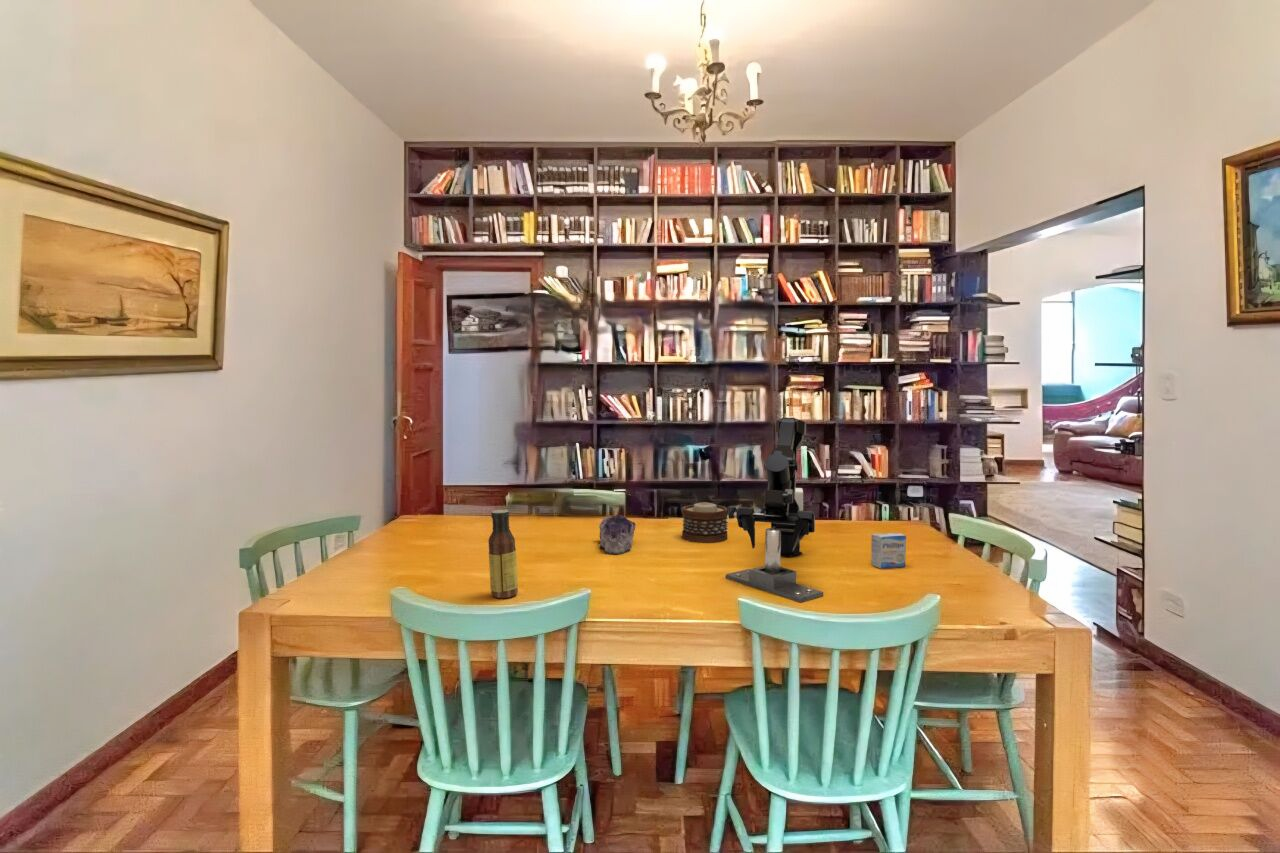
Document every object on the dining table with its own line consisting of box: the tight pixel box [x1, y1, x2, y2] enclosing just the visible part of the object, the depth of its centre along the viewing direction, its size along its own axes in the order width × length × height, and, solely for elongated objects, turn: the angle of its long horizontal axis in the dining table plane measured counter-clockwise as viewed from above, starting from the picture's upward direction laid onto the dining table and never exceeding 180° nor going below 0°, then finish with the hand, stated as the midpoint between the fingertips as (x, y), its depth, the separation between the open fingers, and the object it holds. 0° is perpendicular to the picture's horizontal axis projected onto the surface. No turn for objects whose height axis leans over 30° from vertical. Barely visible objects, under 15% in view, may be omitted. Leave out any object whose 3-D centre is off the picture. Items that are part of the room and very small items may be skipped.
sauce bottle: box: [487, 509, 519, 599], centre depth 163 cm, size 7×6×20 cm
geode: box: [598, 514, 636, 556], centre depth 210 cm, size 20×12×10 cm, turn 3°
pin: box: [764, 527, 781, 575], centre depth 170 cm, size 4×4×14 cm
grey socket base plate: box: [725, 565, 824, 603], centre depth 171 cm, size 24×8×4 cm, turn 37°
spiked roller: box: [681, 501, 730, 544], centre depth 222 cm, size 15×11×15 cm
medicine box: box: [870, 532, 907, 570], centre depth 189 cm, size 8×4×9 cm, turn 105°
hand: (772, 549), depth 169 cm, fingers open, 9 cm apart
